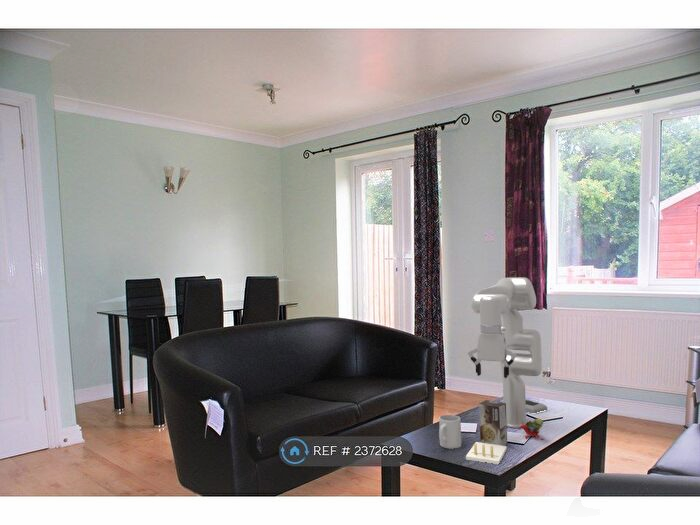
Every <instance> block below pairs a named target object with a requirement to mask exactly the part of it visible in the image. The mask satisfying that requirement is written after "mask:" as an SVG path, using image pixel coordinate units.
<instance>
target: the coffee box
mask: <svg viewBox="0 0 700 525" xmlns="http://www.w3.org/2000/svg"><path fill="white" fill-rule="evenodd" d="M478 411H479V412H478V413H479V414H478V415H479V433H480V434H479V437H480V438H479V439H480V440H479V441H480V443H487V444H494V445H502V446H506V445H507V444H508V427H507V421H506V403H503V402H501V401H494V400H487V399H485V400H483V401H481V402H479V403H478Z"/></svg>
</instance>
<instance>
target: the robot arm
mask: <svg viewBox="0 0 700 525" xmlns="http://www.w3.org/2000/svg"><path fill="white" fill-rule="evenodd" d="M472 296H473V297H472V298H471V309H472V311H473V312H474V313H476V314H479V316H480V317H479V318H480V319H479V320H480V321H479V322H480V332H479V333H478V337H477V347H476V348H475V349H472V350H470V351H468V352H467V354H468V356H469V358H470V361H471V362H472V363H473V364H474V365H475V373H476V375H477V376H478V377H479V376H481V375H482V366H481V365H482V364H481V361H484V362H485V361H487V362H499V365H500V370H501V375H502V376H501V377H502V393H503V394H502V396H503V397H502V398H503V399H502V401H503V402H502V403H506V421H507V428H514V429H520V428H519V427H520V426H522V422H523V425H526V423H527V421H528V422H529V421H530V420H528V419H527V412H526V399H527V398H526V383H525V381H524V380H523V379H522V377H521V376H524V377H525V376H528V377H538V376H540V375H541V373H542V368H543V367H542V366H543V365H542V364H543V362H542V338H541V333H540V332H539V331H538V330H537V329H530V328H524V323H523V322H524V319H523V316H522V314H521V313H520V312H519V310H521V311H523V310H525V311H526V310H527V311H528V310H529V311H531V310H533V309H535V308H536V304H537V297H536V292H535V289H534V286H533V283H532V282H531V280H530V279H529V278H528V277H523V276H522V277H520V276H519V277H503V278H500V279H499V280H498V281H497V282H496V283H495V284H494V285H492V286H489V287H485V288H481V289H479V290H477V291H476V292H475V293H474V294H473V295H472ZM510 350H511V351H510ZM512 350H513V351H527V352H529V353H520V352H512ZM474 354H476V356H477V358H476V357H475V355H474Z"/></svg>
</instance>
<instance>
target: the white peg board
mask: <svg viewBox="0 0 700 525" xmlns="http://www.w3.org/2000/svg"><path fill="white" fill-rule="evenodd" d="M507 450H508V447H507V446H506V445H504V446H502V445H494V444H487V443H481V442H478V441H475V443H473V445H472V447H471V448H470V450H469V451H468V452H467V454H466V455H465V460H467V461H473V462H478V461H479V462H480V463H485V462H487V463H486V464H491V463H493V464H492V465H498V464H499V463H500V464H501V462H502V459H503V457H504V456H505V454H506V451H507ZM500 461H501V462H500ZM500 464H499V465H500Z"/></svg>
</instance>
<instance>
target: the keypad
mask: <svg viewBox="0 0 700 525" xmlns="http://www.w3.org/2000/svg"><path fill="white" fill-rule="evenodd" d="M544 410H547V411H548V407H547V405H545V404H544V403H540V402H538V401H534V400H531V399H527V398H526V413H527V412H529V413H528V414H531V413H537V412H540V411H544Z"/></svg>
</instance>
